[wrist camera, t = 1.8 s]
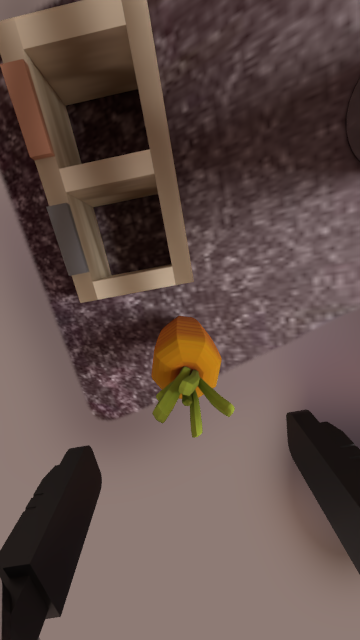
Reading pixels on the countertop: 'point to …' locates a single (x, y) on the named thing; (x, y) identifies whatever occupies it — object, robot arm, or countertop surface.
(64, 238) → the frame
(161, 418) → the carrot
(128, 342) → the countertop surface
